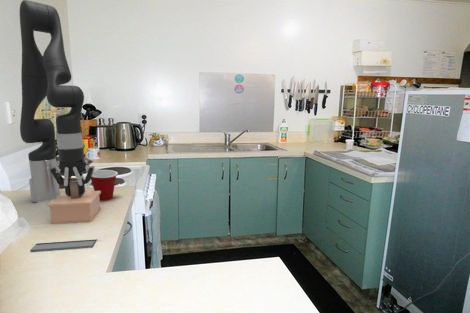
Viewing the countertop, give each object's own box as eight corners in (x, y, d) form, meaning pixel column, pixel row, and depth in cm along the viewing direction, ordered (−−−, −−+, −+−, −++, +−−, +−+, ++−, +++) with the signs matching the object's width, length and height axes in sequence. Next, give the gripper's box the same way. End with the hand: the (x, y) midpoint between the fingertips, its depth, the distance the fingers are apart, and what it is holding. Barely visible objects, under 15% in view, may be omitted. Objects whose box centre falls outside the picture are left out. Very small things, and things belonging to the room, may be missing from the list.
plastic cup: (109, 206, 117) (107, 176, 115) (85, 204, 119) (82, 174, 117) (124, 197, 128) (122, 170, 126) (102, 195, 130) (99, 168, 128)
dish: (52, 226, 99) (49, 206, 97) (65, 212, 110) (64, 194, 109) (91, 224, 101) (89, 204, 99) (100, 211, 112) (99, 193, 111)
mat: (30, 251, 82) (30, 249, 82) (51, 230, 96) (51, 228, 96) (92, 247, 85) (92, 245, 85) (104, 226, 99) (104, 225, 98)
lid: (47, 206, 97) (45, 188, 95) (63, 194, 109) (61, 177, 108) (90, 204, 99) (88, 186, 98) (100, 192, 111) (99, 176, 110)
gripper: (96, 144, 105) (100, 191, 109) (52, 145, 103) (57, 193, 106) (89, 147, 98) (94, 198, 101) (42, 148, 96) (48, 200, 99)
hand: (75, 195), depth 104 cm, fingers closed on lid, 3 cm apart
